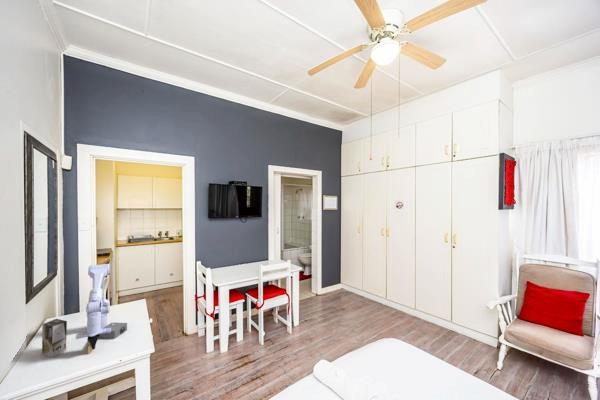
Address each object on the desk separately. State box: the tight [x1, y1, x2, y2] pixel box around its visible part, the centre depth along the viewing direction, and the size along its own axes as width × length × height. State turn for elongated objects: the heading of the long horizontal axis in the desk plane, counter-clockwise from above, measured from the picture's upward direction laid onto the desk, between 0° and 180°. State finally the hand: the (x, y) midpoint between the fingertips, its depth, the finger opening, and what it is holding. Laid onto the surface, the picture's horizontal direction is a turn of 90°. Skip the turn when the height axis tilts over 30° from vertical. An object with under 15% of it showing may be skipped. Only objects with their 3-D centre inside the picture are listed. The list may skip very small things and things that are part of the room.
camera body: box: [98, 322, 128, 340], centre depth 149 cm, size 11×10×5 cm
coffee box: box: [41, 318, 68, 358], centre depth 131 cm, size 9×6×16 cm
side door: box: [87, 343, 92, 354], centre depth 137 cm, size 16×1×4 cm, turn 28°
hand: (93, 348), depth 132 cm, fingers closed
